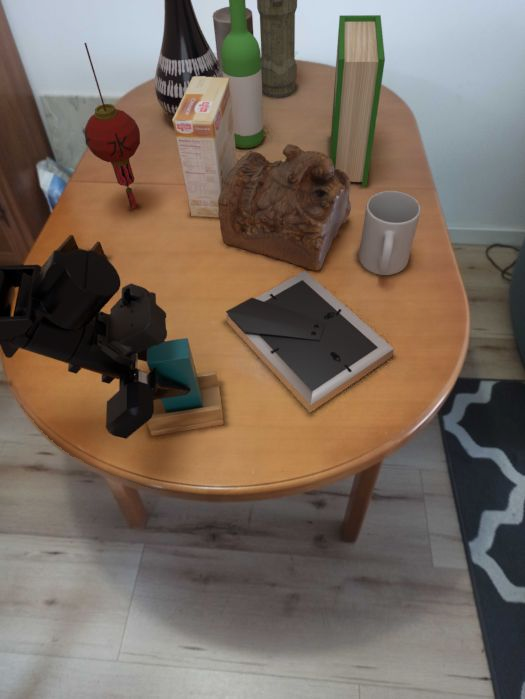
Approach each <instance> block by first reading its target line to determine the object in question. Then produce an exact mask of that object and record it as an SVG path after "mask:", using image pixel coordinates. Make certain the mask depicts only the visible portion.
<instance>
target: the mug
mask: <svg viewBox="0 0 525 699" xmlns="http://www.w3.org/2000/svg"><path fill="white" fill-rule="evenodd" d="M420 216H421V205H420V203H419V201H417V199H416V198H415V197H413V196H411V194H408V193H406V192H403V191H402V192H401V191H399V190H397V191H396V190H384V191H381V192H377V193H375V194H373V195H372V196H370V198H369V199H368V200H367V203H366V205H365V211H364V218H363V224H362V232H361V239H360V243H359V244H360V245H359V250H358V260H359V263H360V264H361V266H362V267H363V268H364V269H365V270H366V271H368V272H371V273H372V274H375V275H380V276H392V275H395V274H398V273H400V272H402V271H403V270H404V269H405V268H406V267H407V266H408V263H409V260H410V255H411V252H412V246H413V243H414V239H415V235H416V231H417V227H418V224H419V220H420Z"/></svg>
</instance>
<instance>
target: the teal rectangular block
mask: <svg viewBox="0 0 525 699" xmlns="http://www.w3.org/2000/svg"><path fill="white" fill-rule="evenodd" d="M146 364H147V367H148V370H149V372H150V371H151V370H153V369H154V368H155V367H156V368H157V370H158V373H159V375H160V376H161V377H163V378H166V379H169V380H172V381H174V382H177V383H180V384H183V385H185V386H186V387H188V388H190V390H191V391H190V392H189V393H188V394H187V395H182V396H176V397H169V398H163V399H161V401H162V404H163V406H164V409H165V412H166V413H171V412H178V411H185V410H191V409H198V408H203V398H202V392H201V388H200V384H199V380H198V376H197V374H198V372H197V368H196V364H195V361H194V357H193V353H192V349H191V345H190V341H189V337H185V338H178V339H177V338H176V339H171V340H165V341H164V342H163V343H161V344H159V345H154V346H152V347H150V348H148V349H147V362H146Z"/></svg>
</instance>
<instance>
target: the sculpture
mask: <svg viewBox="0 0 525 699" xmlns="http://www.w3.org/2000/svg"><path fill="white" fill-rule="evenodd" d="M282 154H283V156H284V157H285V158H286V159H285V160H284V161H283V160H275V161H273V162H270V161H269V159H267V158H266V156H264V155H263V154H262V153H260V152H257V151H252V150H249V151H248V152H246V153H245V154H244V155H243V156H241V157H240V158H239V160H237V164H236V165H235V166H234V167H233V168H232V170H231V171H230V173H229V175H228V176H227V178H226V179H225V181H224V185H223V188H222V191H221V193H220V196H219V199H218V205H219V210H218V215H219V218H218V219H219V224H220V227H219V229H220V233H221V236H222V241H223V242H224V243H225V244H227V245H228V246H230V247H234V248H239V249H243V250H246V251H250V252H252V253H257V254H261V255H265V256H267V257H270V258H273V259H277V260H281V261H284V262H287V263H290V264H293V265H296V266H298V267H302V268H305V269H308V270H311V271H318V270H320V269H322V267H323V265H324V261H325V258H326V256H327V253H328V252H329V250H330V248H331V247H332V243H333V241H334V239H335V238H336V237H337V235H338V232H339V230H340V227H342V225H344V224H346V222H347V220H348V218H349V216H350V215H351V211H352V210H351V209H352V205H351V201H350V193H351V190H352V189H351V186H352V184H351V182H350V179H349V177H348V176H347V175H346V174H345V173H344V172H342V171H340V170H339V169H334V166H333V162H332V160H331V159H330V156H329V155H327V154H325V153H324V152H320V151H314V150H308V151H307V150H303V149H301V148H300V147H299V146H298V145H295V144H293V143H292V144H291V143H289V144H286V146H284V148H283V149H282Z"/></svg>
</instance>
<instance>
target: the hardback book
mask: <svg viewBox="0 0 525 699" xmlns="http://www.w3.org/2000/svg"><path fill="white" fill-rule="evenodd" d="M382 26H383V25H382V16H381V14H380V15H379V14H378V15H377V14H376V15H375V14H371V15H370V14H367V15H366V14H365V15H362V14H359V15H354V14H353V15H352V14H351V15H350V14H349V15H339V18H338V31H337V32H338V33H337V46H336V59H335V60H336V61H335V74H334V86H333V87H334V89H333V101H332V102H333V103H332V115H331V116H332V117H331V129H330V148H329V150H330V152H329V158H330V159H331V160H332V162H333V166H334V169H339V170H340V171H342V172H344V173H345V174H346V175H347V176H348V177H349V179H350V183H361V188H367V187H368V180H369V172H370V166H371V158H372V152H373V144H374V138H375V132H376V124H377V117H378V110H379V103H380V97H381V89H382V83H383V77H384V68H385V63H386V62H385V61H386V56H385V47H384V46H385V45H384V36H383V27H382Z"/></svg>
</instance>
